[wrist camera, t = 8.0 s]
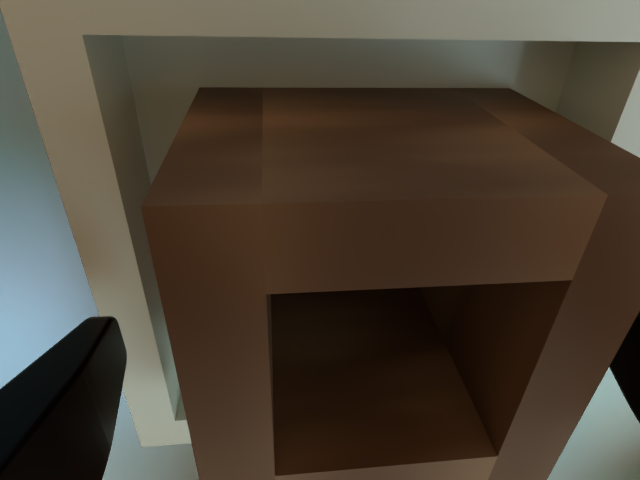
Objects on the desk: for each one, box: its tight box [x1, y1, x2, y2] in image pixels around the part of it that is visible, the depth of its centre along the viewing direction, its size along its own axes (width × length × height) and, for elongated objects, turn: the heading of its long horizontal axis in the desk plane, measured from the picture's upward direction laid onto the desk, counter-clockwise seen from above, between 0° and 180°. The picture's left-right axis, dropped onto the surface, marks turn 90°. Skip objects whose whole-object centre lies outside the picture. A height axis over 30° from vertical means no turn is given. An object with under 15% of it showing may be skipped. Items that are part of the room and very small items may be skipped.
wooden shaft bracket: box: [141, 87, 640, 480], centre depth 9 cm, size 6×6×5 cm
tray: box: [0, 0, 640, 447], centre depth 10 cm, size 11×11×2 cm
